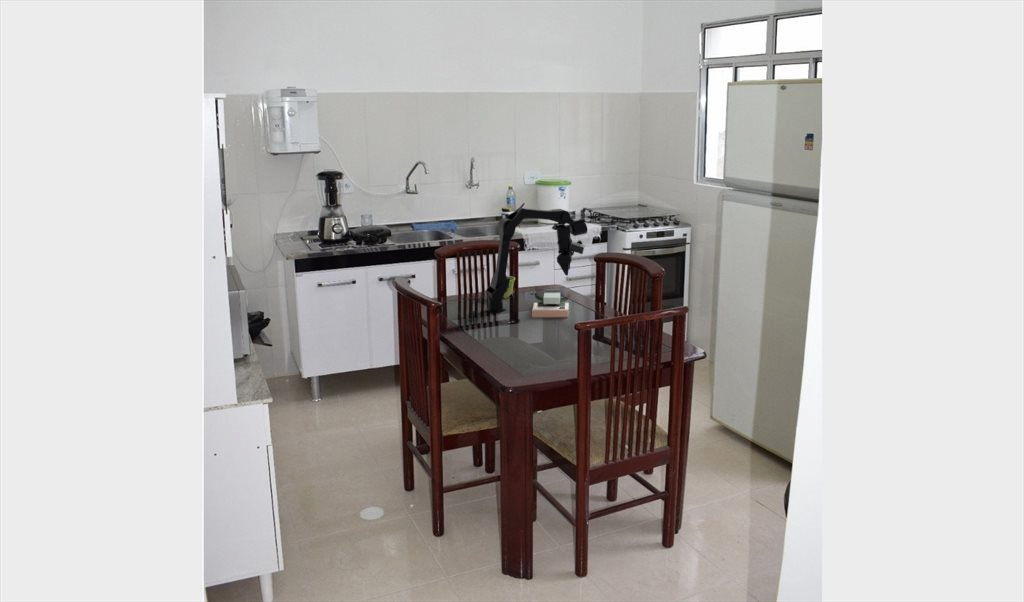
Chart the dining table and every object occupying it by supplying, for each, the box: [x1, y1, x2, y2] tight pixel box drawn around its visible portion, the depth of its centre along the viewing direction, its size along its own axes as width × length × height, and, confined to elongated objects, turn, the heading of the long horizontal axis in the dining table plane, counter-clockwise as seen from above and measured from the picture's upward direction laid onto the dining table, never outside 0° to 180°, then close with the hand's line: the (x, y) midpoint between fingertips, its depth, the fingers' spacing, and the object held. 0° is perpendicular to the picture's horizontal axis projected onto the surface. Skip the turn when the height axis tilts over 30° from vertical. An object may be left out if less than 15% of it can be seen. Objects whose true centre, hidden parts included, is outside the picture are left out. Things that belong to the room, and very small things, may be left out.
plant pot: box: [503, 275, 516, 299], centre depth 360 cm, size 9×9×9 cm
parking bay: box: [531, 302, 570, 318], centre depth 334 cm, size 16×15×3 cm
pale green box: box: [543, 288, 561, 307], centre depth 347 cm, size 10×7×5 cm
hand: (567, 272), depth 346 cm, fingers open, 9 cm apart
